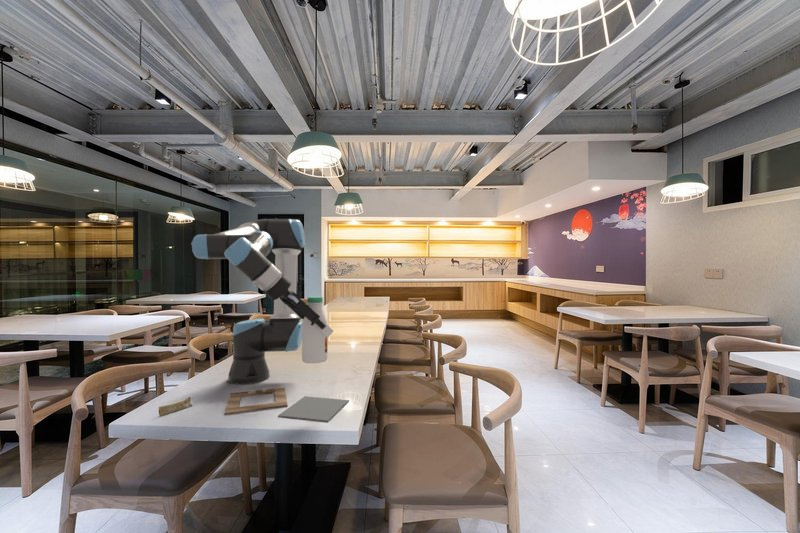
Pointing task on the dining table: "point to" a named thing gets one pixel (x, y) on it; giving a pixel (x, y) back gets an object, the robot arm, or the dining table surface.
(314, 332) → the milk bottle
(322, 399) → the rubber mat
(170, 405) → the snack bar
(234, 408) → the wooden frame
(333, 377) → the dining table surface
